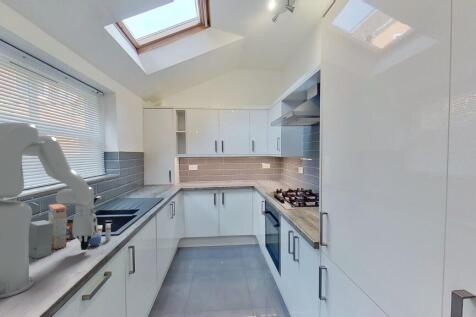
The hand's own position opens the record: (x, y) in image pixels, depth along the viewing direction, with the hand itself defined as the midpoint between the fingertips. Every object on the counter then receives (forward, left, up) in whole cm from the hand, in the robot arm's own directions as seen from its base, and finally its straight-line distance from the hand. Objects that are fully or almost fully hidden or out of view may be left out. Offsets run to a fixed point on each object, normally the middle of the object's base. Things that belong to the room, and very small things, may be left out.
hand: (84, 248), depth 118 cm
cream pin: (+12, 0, -1) cm, 12 cm away
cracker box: (+10, +20, -2) cm, 22 cm away
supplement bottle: (+20, +19, -2) cm, 28 cm away
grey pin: (+16, -3, -2) cm, 16 cm away
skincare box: (-3, +19, -2) cm, 19 cm away
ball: (+9, 0, +1) cm, 9 cm away
